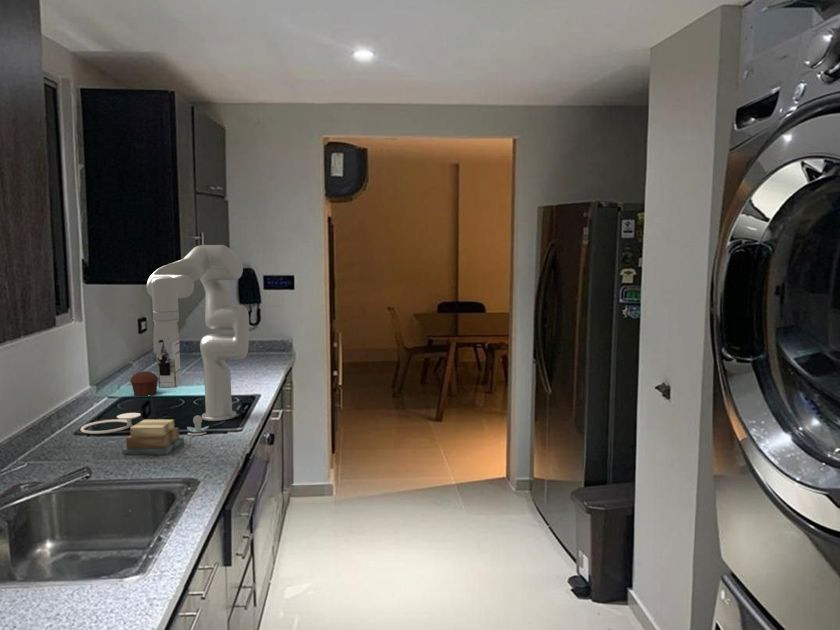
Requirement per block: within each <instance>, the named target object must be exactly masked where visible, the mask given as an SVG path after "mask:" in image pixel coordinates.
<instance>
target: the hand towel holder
mask: <svg viewBox="0 0 840 630" xmlns="http://www.w3.org/2000/svg"><path fill="white" fill-rule="evenodd" d="M139 417H141V413H139V412H126V413H122V414H118V415H116V418H117V419H103V420H99V421H94V422H89V423H86V424H84V425H83V426H81V428H80V429H79V430H80V432H82V433H84V434H87V435H88V434H91V435H101V434H102V435H103V434H110V433H116V432H121V431H124V430H127V429H129V428H131V427H132V426H134V425H133V423H132V420H133V419H137V418H139ZM107 423H125V424H126V425H125V426H122V427H118V428H114V429H113V428H112V429H107V430H86V428H88V427H92V426H94V425H100V424H107Z"/></svg>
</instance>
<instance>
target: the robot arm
mask: <svg viewBox="0 0 840 630" xmlns="http://www.w3.org/2000/svg"><path fill="white" fill-rule="evenodd" d="M243 271H244V267H243V263H242V261H241V259H240V257H239V256H237V254H236V253H235V252H234V251H233V250H232V249H231V248H230V247H228V246H226V245H224V244H201V245H197V246H195V247H193V248H192V249H191V250H190V251H189V252H188V253H187V254H186V255H185V256H184V257H183V258H182V259H180V260H176V261H174V262H171V263H168V264H166V265H163V266H161V267H159V268H157V269H156V270H155V271H153V273H152V274H151V275H150V276H149V277H148V279H147V283H146V291H147V293H148V294H149V296H150V297H151V302H152V317H153V318H152V319H153V320H152V321H153V322H154V323H153V322H152V323H153V332H152V334H153V337H152V338H153V343H152V345H153V352H154V355H156V358H157V357H158V362H159V371H160V376H169V375H170V363H168V362H169V354H170V353H171V344H172V342H174V341H176V340H179V341H180V331H179V324H178V322H179V321H180V315H179V314H180V313H179V300H178V299H185V298H189V297H190V296H191V295H192V294H193V292H194V289H195V281H200V282H201V284H202V286H203V289H204V292H205V307H204V308H205V313H204V314H205V315H204V316H205V317H204V321H205V325H206V326H205V327H207V329H210V330H212V331H234V333H210V334H206V335H203V337H202V338H201V339H200V342H199V348H200V349H199V351H200V354H201V360H202V364H203V365H202V367H203V378H204V379H203V380H204V381H203V382H204V383H203V384H204V400H205V412H204V413H202V415H201V418H202V420H204V421H208V422H210V421H211V422H216V421H217V422H219V421H226V420H230V419H234V418H235V417H236V416H237V412H236V411H235V410H233V401H232V399H233V398H232V382H231V380H232V379H231V375H232V374H231V369H230V367H229V364H228V363H227V362H226V361H225V360H243V359H245V358H247V356H248V352H249V341H250V340H249V339H250V315H249V310H248V309H247V308H246V306H244V305H242V304H230V290H229V289H228V287H227V285H226V284H225V283H224V282H223V281H236V280H239V279H241V277H242V276H243ZM179 346H180V342H179ZM163 351H166V352H167V353H162V352H163ZM164 355H166V358H165V356H164Z"/></svg>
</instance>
